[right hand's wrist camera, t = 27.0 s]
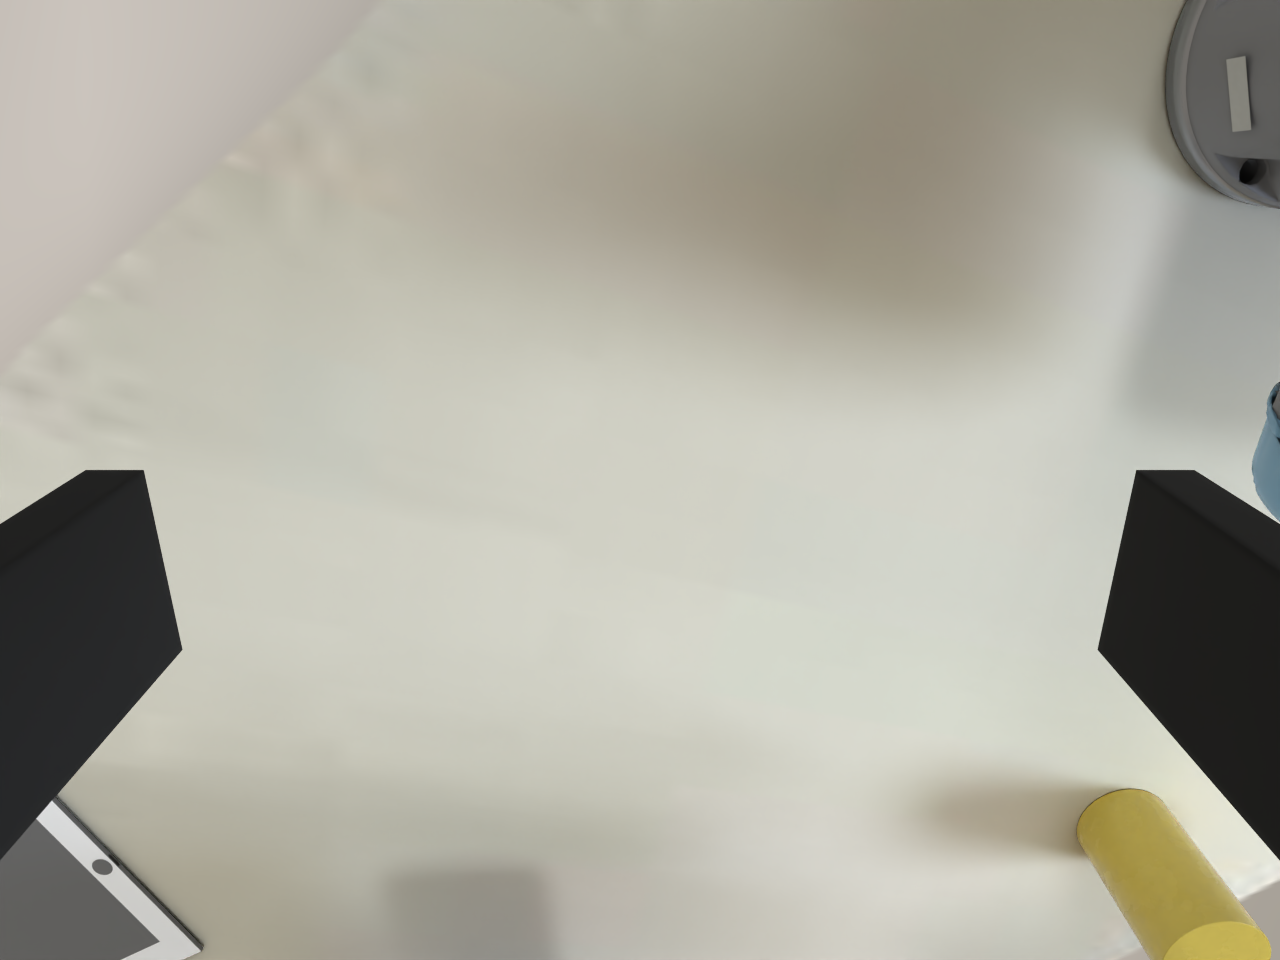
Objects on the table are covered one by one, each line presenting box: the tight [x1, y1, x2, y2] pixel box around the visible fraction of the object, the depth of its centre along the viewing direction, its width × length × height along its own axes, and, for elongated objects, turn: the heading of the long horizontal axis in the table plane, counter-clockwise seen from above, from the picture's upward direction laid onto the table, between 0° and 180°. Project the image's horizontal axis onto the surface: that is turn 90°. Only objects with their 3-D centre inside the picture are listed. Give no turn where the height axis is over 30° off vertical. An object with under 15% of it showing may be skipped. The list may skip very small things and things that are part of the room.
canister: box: [1077, 789, 1271, 960], centre depth 60 cm, size 6×6×12 cm
